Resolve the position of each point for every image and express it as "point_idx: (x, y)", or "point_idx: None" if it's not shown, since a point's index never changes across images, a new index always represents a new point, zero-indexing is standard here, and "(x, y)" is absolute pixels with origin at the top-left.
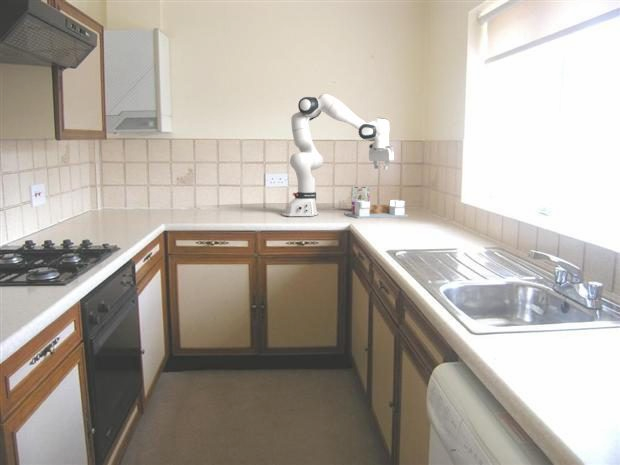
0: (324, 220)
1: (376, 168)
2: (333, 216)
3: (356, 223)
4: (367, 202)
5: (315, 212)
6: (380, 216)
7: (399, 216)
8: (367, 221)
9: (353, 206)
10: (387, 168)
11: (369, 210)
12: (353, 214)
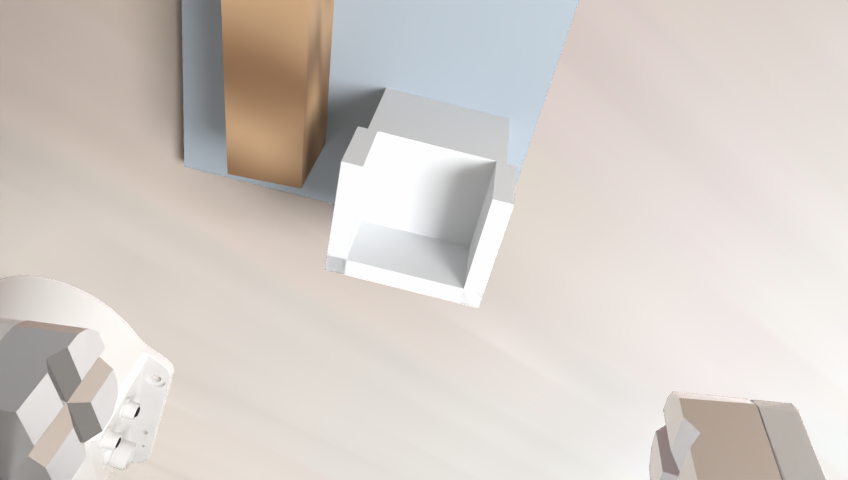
0: (472, 452)
1: (109, 373)
2: (284, 296)
3: None
4: (504, 229)
5: (115, 336)
6: (575, 5)
7: None
8: (717, 295)
9: (246, 173)
10: (796, 422)
11: (507, 147)
12: (322, 165)
